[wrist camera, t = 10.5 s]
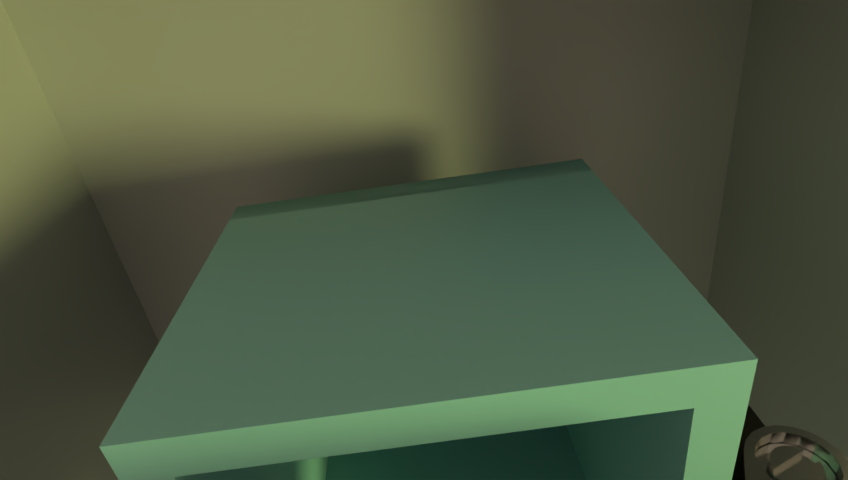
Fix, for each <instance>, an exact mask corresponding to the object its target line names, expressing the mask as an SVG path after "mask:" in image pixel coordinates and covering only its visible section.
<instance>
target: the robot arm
mask: <svg viewBox="0 0 848 480" xmlns="http://www.w3.org/2000/svg"><path fill="white" fill-rule="evenodd" d="M732 480H848V460H847V459H846V457H845V456H844V455H843V454H842V453H841V452H840V451H839V450H838V449H837V448H836V447H834V446H833V445H832V444H830V443H829V442H828V441H826V440H825V439H823V438H821V437H819V436H817V435H815V434H813V433H811V432H809V431H805V430H802V429H798V428H795V427H790V426H781V425H773V426H765V425H764V424H763V423H762V421H761V420H760V419H759V417H758V416H757V415H756V414H755V412H754V411H753V410H752V408H751V407H750V406H749V404H748V408H747V412H746V417H745V421H744V426H743V430H742V435H741V440H740V444H739V449H738V453H737V458H736V462H735V467H734V472H733V476H732Z"/></svg>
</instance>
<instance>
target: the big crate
mask: <svg viewBox="0 0 848 480" xmlns="http://www.w3.org/2000/svg"><path fill="white" fill-rule="evenodd" d="M577 159H583V160H584V162H585V163H586V164H587V165H588V166H589V167H590V168H591V170H592V171H593V172H594V173H595V174H596V175H597V176H598V178H599V179H600V180H601V181H602V182H603V183H604V184H605V185H606V187H607V188H608V189H609V190H610V191H611V192H612V193H613V195H614V196H615V197H616V198H617V199H618V200H619V201H620V203H621V204H622V205H623V206H624V207H625V208H626V209H627V211H628V212H629V213H630V214H631V215H632V216H633V217H634V218H635V220H636V221H637V222H638V223H639V224H640V225H641V226H642V228H643V229H644V230H645V231H646V232H647V233H648V234H649V236H650V237H651V238H652V239H653V240H654V241H655V242H656V244H657V245H658V246H659V247H660V248H661V249H662V250H663V252H664V253H665V254H666V255H667V256H668V257H669V258H670V259H671V261H672V262H673V263H674V264H675V265H676V266H677V267H678V269H679V270H680V271H681V272H682V273H683V274H684V275H685V277H686V278H687V279H688V280H689V281H690V282H691V283H692V285H693V286H694V287H695V288H696V289H697V290H698V291H699V292H700V294H701V295H702V296H703V297H704V298H705V299H706V300H707V302H708V303H709V304H710V305H711V306H712V307H713V308H714V310H715V311H716V312H717V313H718V314H719V315H720V316H721V318H722V319H723V320H724V321H725V322H726V323H727V324H728V325H729V327H730V328H731V329H732V330H733V331H734V332H735V333H736V335H737V336H738V337H739V338H740V339H741V340H742V341H743V343H744V344H745V345H746V346H747V347H748V348H749V349H750V351H751V352H752V353H753V354H754V355H755V356H756V357H757V358H758V362H757V366H756V371H755V375H754V380H753V385H752V389H751V394H750V398H749V403H748V404H749V406H750V407H751V408H752V410H753V411H754V412H755V414H756V415H757V416H758V417H759V419H760V420H761V421H762V423H763V424H764V425H765V426H773V425H781V426H790V427H795V428H798V429H802V430H805V431H809V432H811V433H813V434H815V435H817V436H819V437H821V438H823V439H825V440H826V441H828V442H829V443H830V444H832V445H833V446H834V447H836V448H837V449H838V450H839V451H840V452H841V453H842V454H843V455H844V456H845V457H846V459H847V460H848V0H0V480H118V478H117V476H116V475H115V473H114V471H113V470H112V468H111V466H110V465H109V463H108V461H107V459H106V458H105V456H104V454H103V453H102V451H101V449H100V448H99V446H100V445H101V443H102V441H103V439H104V438H105V436H106V434H107V432H108V431H109V429H110V427H111V425H112V424H113V422H114V420H115V418H116V417H117V415H118V413H119V411H120V410H121V408H122V406H123V405H124V403H125V401H126V399H127V398H128V396H129V394H130V392H131V391H132V389H133V387H134V385H135V384H136V382H137V380H138V378H139V377H140V375H141V373H142V371H143V370H144V368H145V366H146V364H147V363H148V361H149V359H150V357H151V356H152V354H153V352H154V351H155V349H156V347H157V345H158V344H159V342H160V340H161V338H162V337H163V335H164V333H165V331H166V330H167V328H168V326H169V324H170V323H171V321H172V319H173V317H174V316H175V314H176V312H177V310H178V309H179V307H180V305H181V303H182V302H183V300H184V298H185V297H186V295H187V293H188V291H189V290H190V288H191V286H192V284H193V283H194V281H195V279H196V277H197V276H198V274H199V272H200V270H201V269H202V267H203V265H204V263H205V262H206V260H207V258H208V256H209V255H210V253H211V251H212V250H213V248H214V246H215V244H216V243H217V241H218V239H219V237H220V236H221V234H222V232H223V230H224V229H225V227H226V225H227V223H228V222H229V220H230V218H231V216H232V215H233V213H234V211H235V209H236V208H237V207H238V206H246V205H253V204H260V203H267V202H274V201H282V200H289V199H296V198H303V197H311V196H318V195H325V194H332V193H339V192H347V191H354V190H361V189H368V188H375V187H383V186H390V185H397V184H404V183H411V182H419V181H426V180H433V179H440V178H447V177H455V176H462V175H469V174H476V173H484V172H491V171H498V170H505V169H512V168H520V167H527V166H534V165H541V164H548V163H556V162H563V161H570V160H577Z"/></svg>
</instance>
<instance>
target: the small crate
mask: <svg viewBox="0 0 848 480" xmlns="http://www.w3.org/2000/svg"><path fill="white" fill-rule="evenodd" d="M757 362H758V358H757V357H756V356H755V355H754V354H753V353H752V352H751V351H750V349H749V348H748V347H747V346H746V345H745V344H744V343H743V341H742V340H741V339H740V338H739V337H738V336H737V335H736V333H735V332H734V331H733V330H732V329H731V328H730V327H729V325H728V324H727V323H726V322H725V321H724V320H723V319H722V318H721V316H720V315H719V314H718V313H717V312H716V311H715V310H714V308H713V307H712V306H711V305H710V304H709V303H708V302H707V300H706V299H705V298H704V297H703V296H702V295H701V294H700V292H699V291H698V290H697V289H696V288H695V287H694V286H693V285H692V283H691V282H690V281H689V280H688V279H687V278H686V277H685V275H684V274H683V273H682V272H681V271H680V270H679V269H678V267H677V266H676V265H675V264H674V263H673V262H672V261H671V259H670V258H669V257H668V256H667V255H666V254H665V253H664V252H663V250H662V249H661V248H660V247H659V246H658V245H657V244H656V242H655V241H654V240H653V239H652V238H651V237H650V236H649V234H648V233H647V232H646V231H645V230H644V229H643V228H642V226H641V225H640V224H639V223H638V222H637V221H636V220H635V218H634V217H633V216H632V215H631V214H630V213H629V212H628V211H627V209H626V208H625V207H624V206H623V205H622V204H621V203H620V201H619V200H618V199H617V198H616V197H615V196H614V195H613V193H612V192H611V191H610V190H609V189H608V188H607V187H606V185H605V184H604V183H603V182H602V181H601V180H600V179H599V178H598V176H597V175H596V174H595V173H594V172H593V171H592V170H591V168H590V167H589V166H588V165H587V164H586V163H585V162H584V160H583V159H577V160H570V161H563V162H556V163H548V164H541V165H534V166H527V167H520V168H512V169H505V170H498V171H491V172H484V173H476V174H469V175H462V176H455V177H447V178H440V179H433V180H426V181H419V182H411V183H404V184H397V185H390V186H383V187H375V188H368V189H361V190H354V191H347V192H339V193H332V194H325V195H318V196H311V197H303V198H296V199H289V200H282V201H274V202H267V203H260V204H253V205H246V206H238V207H237V208H236V209H235V211H234V213H233V215H232V216H231V218H230V220H229V222H228V223H227V225H226V227H225V229H224V230H223V232H222V234H221V236H220V237H219V239H218V241H217V243H216V244H215V246H214V248H213V250H212V251H211V253H210V255H209V256H208V258H207V260H206V262H205V263H204V265H203V267H202V269H201V270H200V272H199V274H198V276H197V277H196V279H195V281H194V283H193V284H192V286H191V288H190V290H189V291H188V293H187V295H186V297H185V298H184V300H183V302H182V303H181V305H180V307H179V309H178V310H177V312H176V314H175V316H174V317H173V319H172V321H171V323H170V324H169V326H168V328H167V330H166V331H165V333H164V335H163V337H162V338H161V340H160V342H159V344H158V345H157V347H156V349H155V351H154V352H153V354H152V356H151V357H150V359H149V361H148V363H147V364H146V366H145V368H144V370H143V371H142V373H141V375H140V377H139V378H138V380H137V382H136V384H135V385H134V387H133V389H132V391H131V392H130V394H129V396H128V398H127V399H126V401H125V403H124V405H123V406H122V408H121V410H120V411H119V413H118V415H117V417H116V418H115V420H114V422H113V424H112V425H111V427H110V429H109V431H108V432H107V434H106V436H105V438H104V439H103V441H102V443H101V445H100V446H99V448H100V449H101V451H102V453H103V454H104V456H105V458H106V459H107V461H108V463H109V465H110V466H111V468H112V470H113V471H114V473H115V475H116V476H117V478H118V480H732V476H733V472H734V467H735V462H736V458H737V453H738V449H739V444H740V440H741V435H742V430H743V426H744V421H745V417H746V412H747V408H748V403H749V398H750V394H751V389H752V385H753V380H754V375H755V371H756V366H757Z"/></svg>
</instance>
